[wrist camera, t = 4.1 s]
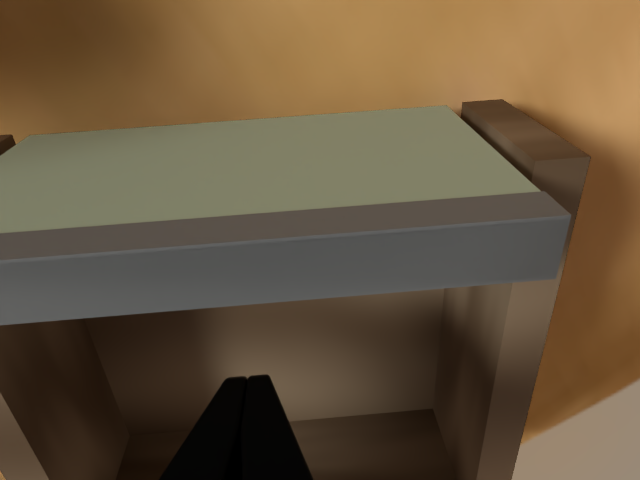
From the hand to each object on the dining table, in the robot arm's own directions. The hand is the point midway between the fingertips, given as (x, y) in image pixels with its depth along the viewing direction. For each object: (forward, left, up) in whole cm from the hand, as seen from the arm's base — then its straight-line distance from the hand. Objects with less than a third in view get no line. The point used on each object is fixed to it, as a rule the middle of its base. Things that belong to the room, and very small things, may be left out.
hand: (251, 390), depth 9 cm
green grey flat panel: (+4, 0, -5) cm, 6 cm away
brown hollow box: (-2, 0, -6) cm, 7 cm away
